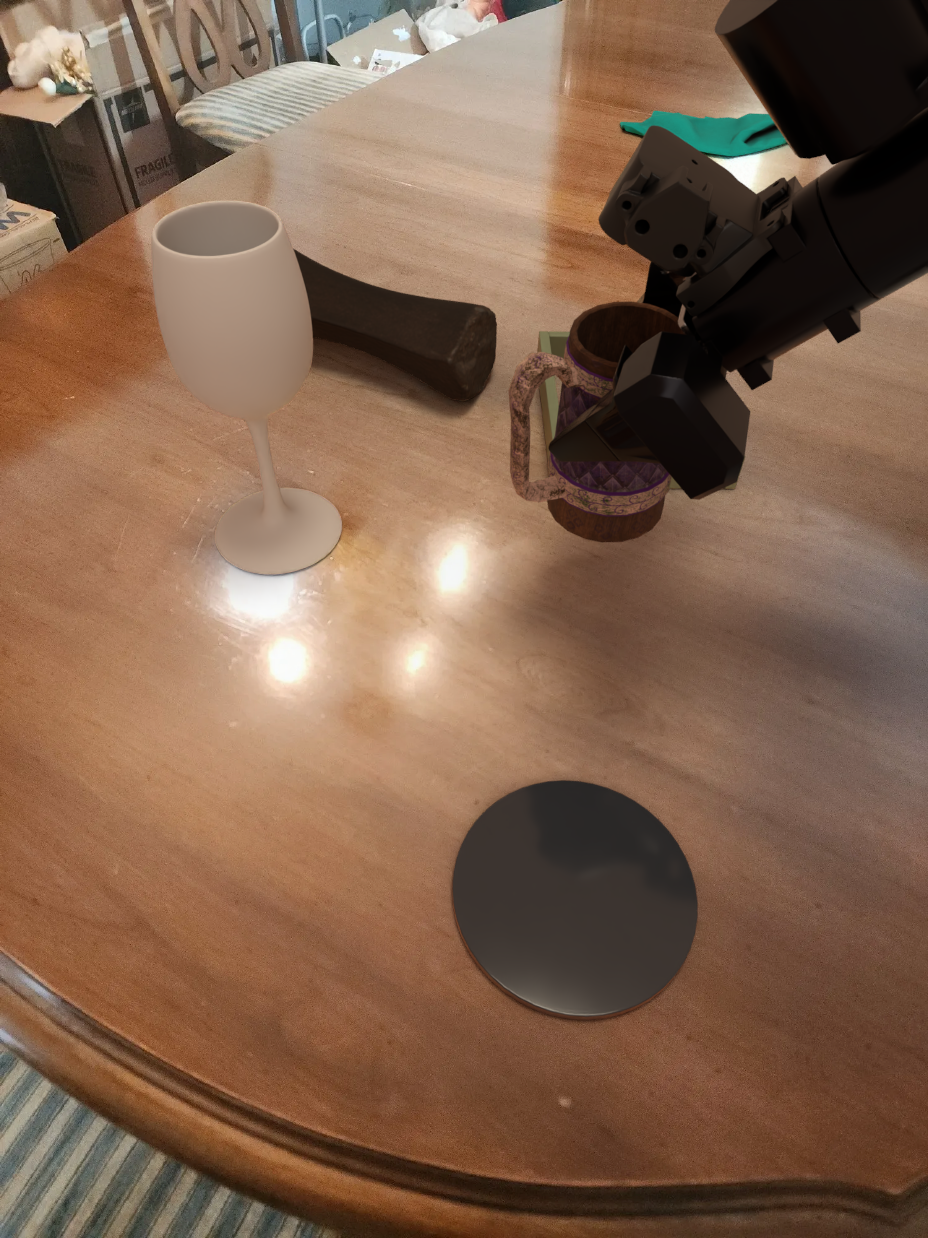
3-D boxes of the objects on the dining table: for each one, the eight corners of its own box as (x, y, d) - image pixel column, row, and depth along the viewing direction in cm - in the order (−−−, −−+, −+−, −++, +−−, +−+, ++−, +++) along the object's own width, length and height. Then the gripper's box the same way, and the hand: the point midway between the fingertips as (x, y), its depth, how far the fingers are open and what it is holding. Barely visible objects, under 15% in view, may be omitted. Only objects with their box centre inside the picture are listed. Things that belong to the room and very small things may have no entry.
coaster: (673, 785, 46) (675, 779, 46) (718, 1020, 38) (721, 1016, 38) (452, 785, 46) (452, 779, 46) (451, 1021, 38) (452, 1017, 38)
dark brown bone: (188, 345, 78) (464, 456, 73) (135, 276, 68) (451, 399, 63) (243, 247, 80) (516, 349, 75) (199, 165, 70) (512, 277, 65)
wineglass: (345, 489, 62) (310, 190, 46) (338, 575, 56) (295, 267, 41) (225, 490, 62) (148, 190, 46) (205, 577, 56) (110, 268, 40)
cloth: (613, 147, 105) (615, 127, 103) (624, 108, 114) (626, 89, 112) (831, 169, 102) (837, 148, 100) (824, 127, 111) (830, 107, 109)
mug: (623, 452, 54) (652, 274, 45) (687, 524, 50) (734, 344, 41) (478, 502, 51) (476, 324, 42) (534, 582, 47) (546, 404, 38)
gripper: (762, 5, 38) (513, 220, 49) (723, 163, 27) (406, 403, 37) (880, 205, 43) (630, 364, 53) (892, 417, 31) (567, 568, 41)
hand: (568, 414), depth 46 cm, fingers closed on mug, 7 cm apart
